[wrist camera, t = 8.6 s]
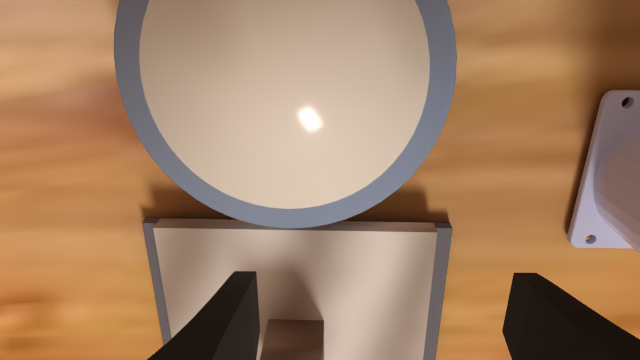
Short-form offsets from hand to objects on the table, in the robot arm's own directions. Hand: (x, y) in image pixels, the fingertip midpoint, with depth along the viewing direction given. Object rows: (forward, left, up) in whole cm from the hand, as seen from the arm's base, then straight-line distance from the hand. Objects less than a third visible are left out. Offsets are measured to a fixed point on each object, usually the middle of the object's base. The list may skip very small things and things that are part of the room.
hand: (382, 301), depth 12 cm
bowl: (+3, -5, -10) cm, 12 cm away
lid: (+3, +10, -10) cm, 14 cm away
